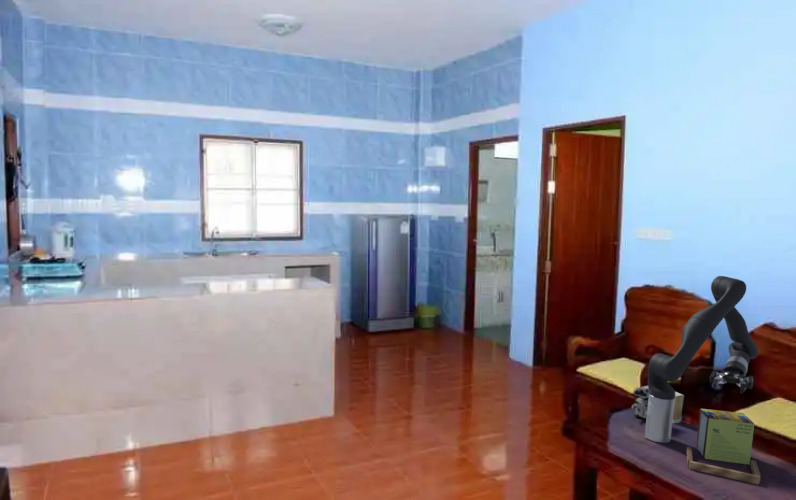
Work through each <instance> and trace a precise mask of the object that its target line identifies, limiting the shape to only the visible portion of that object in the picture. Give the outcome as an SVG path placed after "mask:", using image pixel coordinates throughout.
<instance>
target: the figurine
mask: <svg viewBox="0 0 796 500" xmlns="http://www.w3.org/2000/svg"><path fill="white" fill-rule="evenodd" d="M633 395H635V396H638V398H636V399H635V403H633V404H632V405H631V411H634V409H635V412H634V415H633V416H634V418H636V419H637V418H644V419H646V418H647V409H648V399H649V388H648V385H644V386H643V384H642V385H641V386H640V387H638V388H636V389H635V390H634V391H633Z"/></svg>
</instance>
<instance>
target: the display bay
mask: <svg viewBox="0 0 796 500" xmlns="http://www.w3.org/2000/svg"><path fill="white" fill-rule="evenodd" d="M686 454H687V456H686V466H687V468H688V470H691V471H696V470H697V471H696V472H700V471H701V473H706V474H709V473H710V475H714V476H718V477H719V476H720V477H723V478H728V479H731V480H736V481H740V482H745V483H750V484H753V485H760V484H761V479H762V476H761V475H762V474H761V472H760V469H759V466H758V464H757V461H756V460H752V459H750V464H749V465H750V466H749V468H750V470H751V473H750V472H744V471H740V470H735V469H731V468H726V467H722V466H721V467H720V466H717V465H712V464H707V463H704V462H703V463H702V462H699V461H693V449H692V447H691V446H686Z"/></svg>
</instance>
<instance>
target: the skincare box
mask: <svg viewBox="0 0 796 500" xmlns="http://www.w3.org/2000/svg"><path fill="white" fill-rule="evenodd" d="M684 398H685V395H684V394H682V393H679V392H677V391H675V401H674V411H673V420H672V424H679V423H681V421H682V413H683V412H682V411H683V406H684Z"/></svg>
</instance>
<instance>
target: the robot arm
mask: <svg viewBox="0 0 796 500" xmlns="http://www.w3.org/2000/svg"><path fill="white" fill-rule="evenodd" d="M710 289H711V293H712V294H711V295H712V296H713V299H714V301H715V303H714V304H712V305H710V306H708V307H705V308H703V309H701V310H699V311H697V312H696V313H694V314H693V315H691V316H690V318H689V319H688V321H687V322H686V323H685V325H683V328H682V332H681V343H680V347H679V349H678V350H677V351H676V353H675V354H674V355H673V356H669V355H667V354H664V353H655V354H653V355H652V356H651V358H650V360H649V363H648V373H647V386H648V388H649V399H648V409H647V418H645V419H646V421H645V430H644V438H645V439H647V440H649V441H652V442H655V443H662V444H668V443H670V442H671V440H672V439H671V437H672V427H673V423H672V420H673V411H674V401H675V392H676V391H675V389H674V388H673V387H672V386H671V385H670V383H674V382H676V381H678V380H679V379H680V378H681V376H682V375H683V374H684V373H685V371H686V369H687V368H688V366H689V364H690V363H691V361H692V360H693V358H694V357H695V355H696V354H697V352H698V351H699V350H700V349H701V347H702V346H703V345H704V343H705V342H706V341H707V340H708V339H709V337H710V336H711V335H712V334H713V332H714V331H715V330H716V328H717V326H718V325H719V324H720V323H721V322H722V321H723V320H724V322H725V324H726V328H727V329H726V330H727V331H728V337H729V338H730V340H731V342H730V343H729V345H728V353H729V358H728V360H726V362H725V365H724V367H723V370H722V371H721V372H718V371H717V370H715V369H714V370H712V372H711V374H710V375H709V383H711V384H712V388H714V390H717V389H718V387H719V385H724V384H733V385H737V386H738V387H739V394H743V393H745V392H746V390H747V389H748V390H753V386H754V376H753V375H749V376H746V375H747V372H748V367H749V363H750V360H755V359H756V358H757V357H758V355H759V349H758V346H757V343H755V342H754V340H753V339H752V337H751V335H750V333H749V330H748V326H747V322H746V320H745V319H744V317H743V316H742V314H741V313H740V312H739V310H738V309H737V308H736V306H737V305H738V304H739V303H740V302H741V300H742V299H743V298H744V297H745V294H746V293H747V284H746V282H745V281H743V280H741V279H738V278H734V277H730V276H723V275H718V276H716V277H715V278H714V279H712V282H711V285H710Z"/></svg>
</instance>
